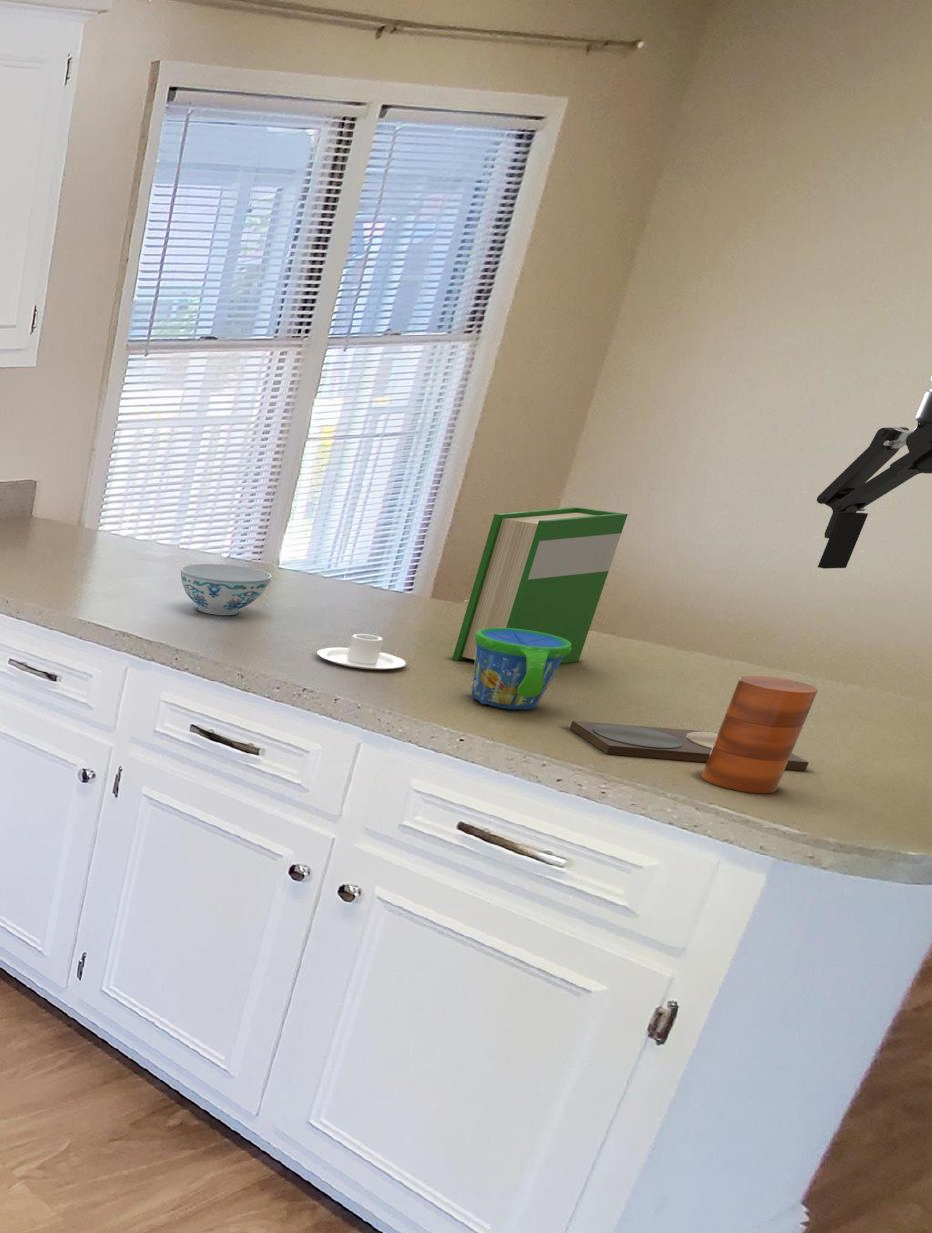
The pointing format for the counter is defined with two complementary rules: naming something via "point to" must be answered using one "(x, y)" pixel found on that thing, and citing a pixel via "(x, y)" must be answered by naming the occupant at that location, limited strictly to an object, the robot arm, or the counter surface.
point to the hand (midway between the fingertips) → (898, 580)
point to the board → (657, 742)
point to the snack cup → (515, 666)
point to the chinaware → (223, 586)
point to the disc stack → (758, 733)
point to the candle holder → (362, 654)
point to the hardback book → (542, 575)
